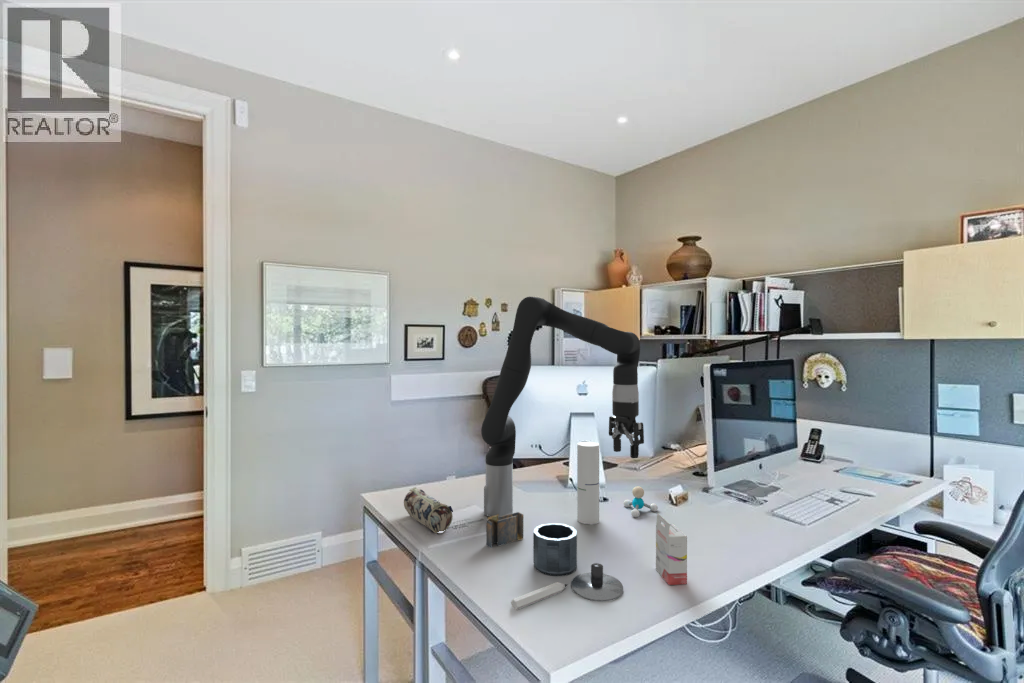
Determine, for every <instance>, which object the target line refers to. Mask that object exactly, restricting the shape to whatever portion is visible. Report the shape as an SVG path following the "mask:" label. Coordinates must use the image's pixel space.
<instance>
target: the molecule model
mask: <svg viewBox="0 0 1024 683" xmlns="http://www.w3.org/2000/svg"><path fill="white" fill-rule="evenodd" d="M631 493H632V496H633V497H634V498H633V499H632V501H631V500H630V499H625V500H624V501H623V506H624V507H625V508H630V507H631V506H633V508H634V509H632V510H631V511H630V514H631V516H632V517H633V518H638V517H640V511H639V510H641V509H642V508H644V507H645V508H647V509H649V510H650V511H651V512H657V511H658V508H659V507H658V505H657V504H656V503H651V504H648V503H645V500H644V499H643V497H644V495H645V490H644V488H643V487H641V486H638V485H637V486H634V488H632V492H631Z"/></svg>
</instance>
